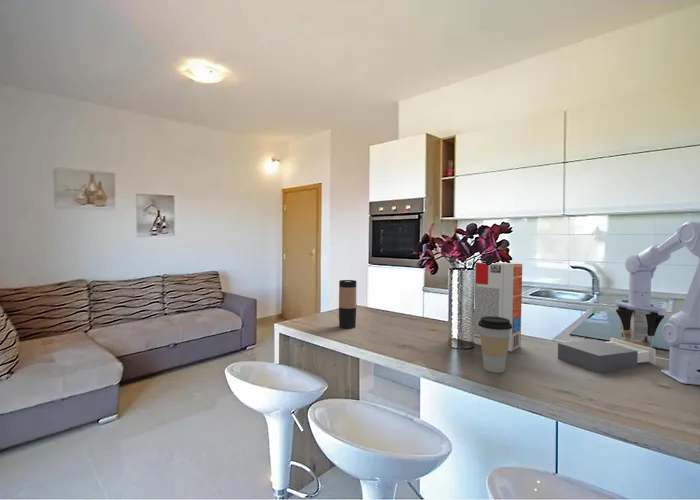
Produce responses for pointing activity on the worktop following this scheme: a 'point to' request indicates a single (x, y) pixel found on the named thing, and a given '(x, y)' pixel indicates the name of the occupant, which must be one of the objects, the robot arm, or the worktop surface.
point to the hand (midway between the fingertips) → (638, 332)
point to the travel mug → (347, 304)
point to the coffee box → (637, 328)
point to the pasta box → (498, 297)
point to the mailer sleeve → (597, 355)
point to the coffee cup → (494, 342)
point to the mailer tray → (637, 349)
